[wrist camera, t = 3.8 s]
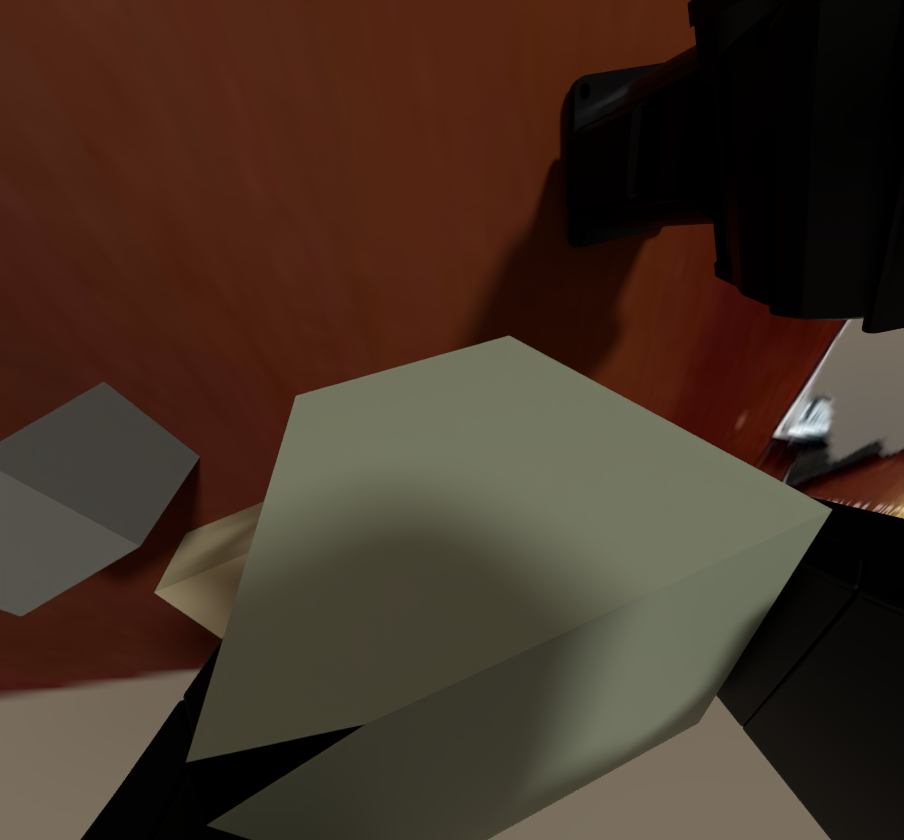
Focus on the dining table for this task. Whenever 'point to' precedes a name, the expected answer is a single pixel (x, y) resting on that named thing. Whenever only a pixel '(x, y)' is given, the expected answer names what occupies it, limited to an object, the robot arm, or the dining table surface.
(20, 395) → the dining table surface
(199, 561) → the maple base
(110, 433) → the grey block
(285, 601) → the sage block
